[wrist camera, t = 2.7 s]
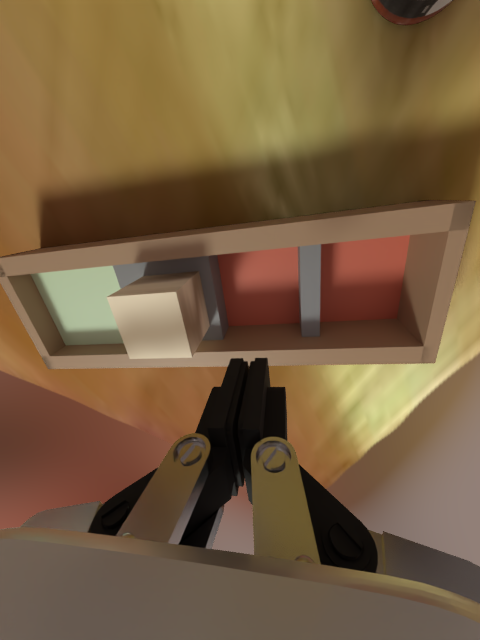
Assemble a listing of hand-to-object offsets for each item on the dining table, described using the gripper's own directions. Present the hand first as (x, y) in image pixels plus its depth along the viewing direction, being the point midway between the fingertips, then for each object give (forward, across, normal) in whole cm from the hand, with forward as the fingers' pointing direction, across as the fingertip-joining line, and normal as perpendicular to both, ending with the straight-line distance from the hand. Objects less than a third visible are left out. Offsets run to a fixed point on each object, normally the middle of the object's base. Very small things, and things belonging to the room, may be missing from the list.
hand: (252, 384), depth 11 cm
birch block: (+10, +8, -1) cm, 13 cm away
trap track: (+13, +5, -1) cm, 14 cm away
